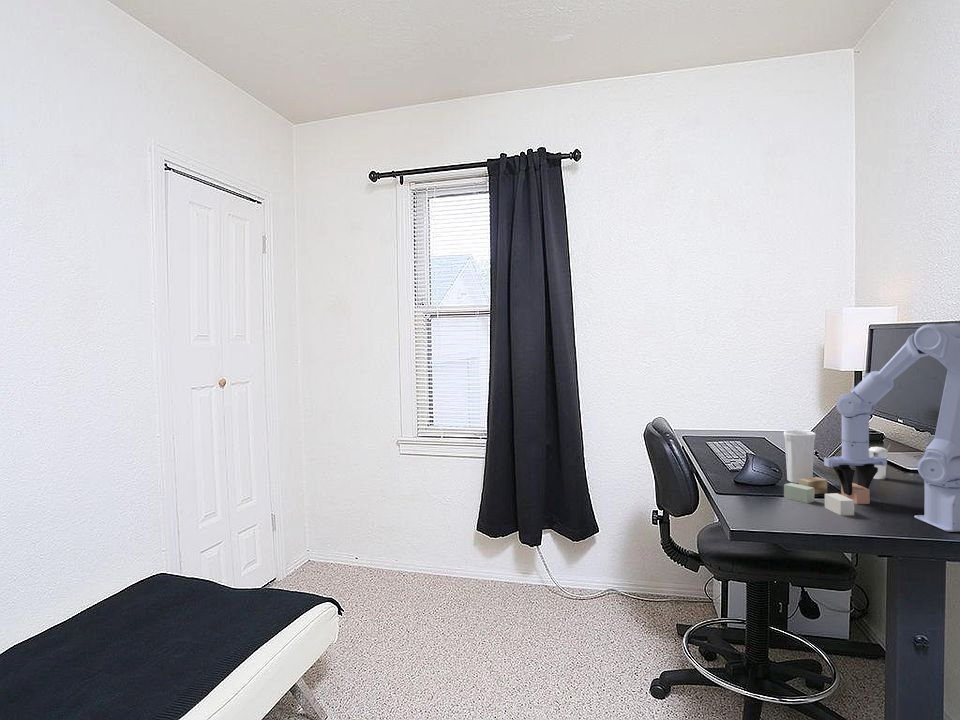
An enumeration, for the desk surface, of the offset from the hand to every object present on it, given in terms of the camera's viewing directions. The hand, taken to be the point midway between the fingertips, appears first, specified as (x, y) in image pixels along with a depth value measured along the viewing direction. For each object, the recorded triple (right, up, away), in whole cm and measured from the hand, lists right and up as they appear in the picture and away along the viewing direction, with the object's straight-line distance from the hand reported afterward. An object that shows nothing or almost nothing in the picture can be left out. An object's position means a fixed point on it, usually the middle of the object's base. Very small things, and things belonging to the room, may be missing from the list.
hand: (855, 494), depth 141 cm
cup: (-4, -1, +18) cm, 19 cm away
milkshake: (+20, 0, +20) cm, 28 cm away
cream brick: (-9, -2, -8) cm, 12 cm away
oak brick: (-6, -2, +8) cm, 10 cm away
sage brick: (-13, -2, +2) cm, 13 cm away
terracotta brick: (0, -2, 0) cm, 2 cm away
